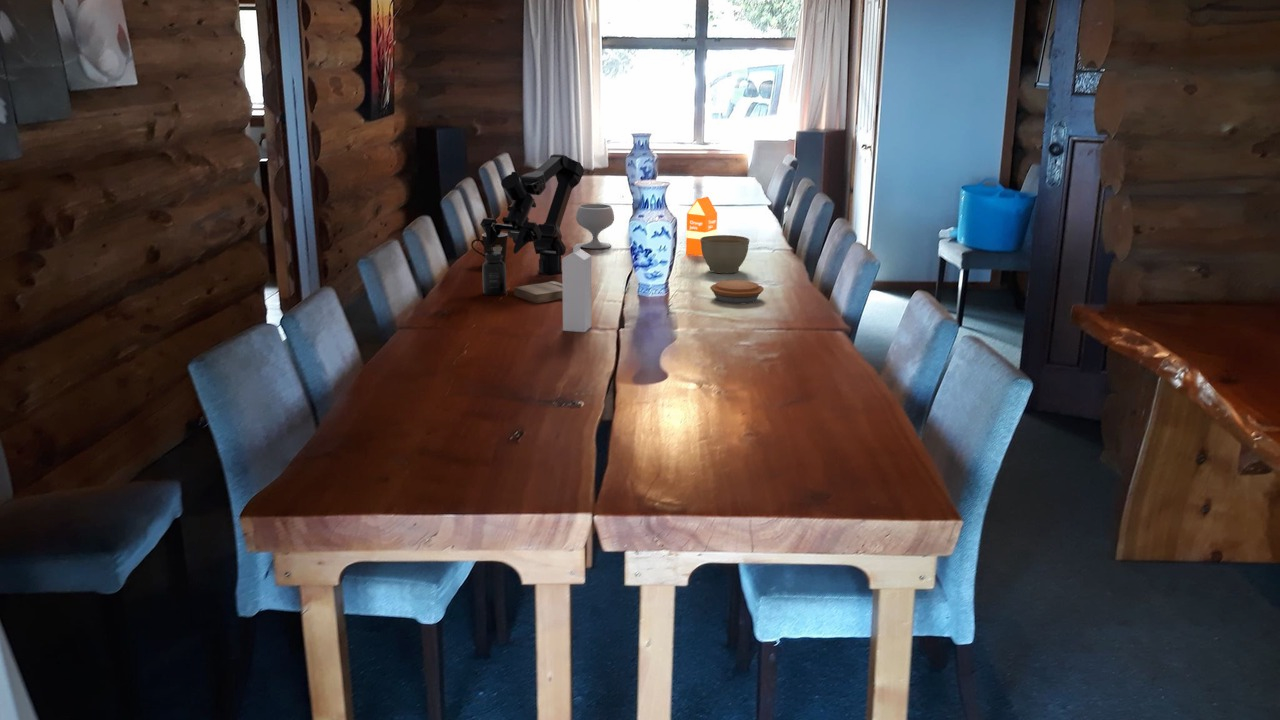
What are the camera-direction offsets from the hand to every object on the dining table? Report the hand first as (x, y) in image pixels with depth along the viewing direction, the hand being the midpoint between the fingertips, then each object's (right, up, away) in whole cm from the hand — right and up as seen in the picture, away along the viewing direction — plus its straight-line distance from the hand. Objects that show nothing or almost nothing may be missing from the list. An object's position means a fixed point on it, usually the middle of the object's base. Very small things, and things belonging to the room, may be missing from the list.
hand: (501, 251), depth 304 cm
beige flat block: (+14, -13, -3) cm, 19 cm away
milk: (+25, -24, -38) cm, 52 cm away
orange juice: (+63, +6, +65) cm, 91 cm away
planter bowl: (+69, -3, +35) cm, 77 cm away
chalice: (+25, +10, +75) cm, 80 cm away
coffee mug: (-9, 0, +42) cm, 43 cm away
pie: (+70, -15, -4) cm, 71 cm away
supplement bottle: (-2, -13, 0) cm, 13 cm away
